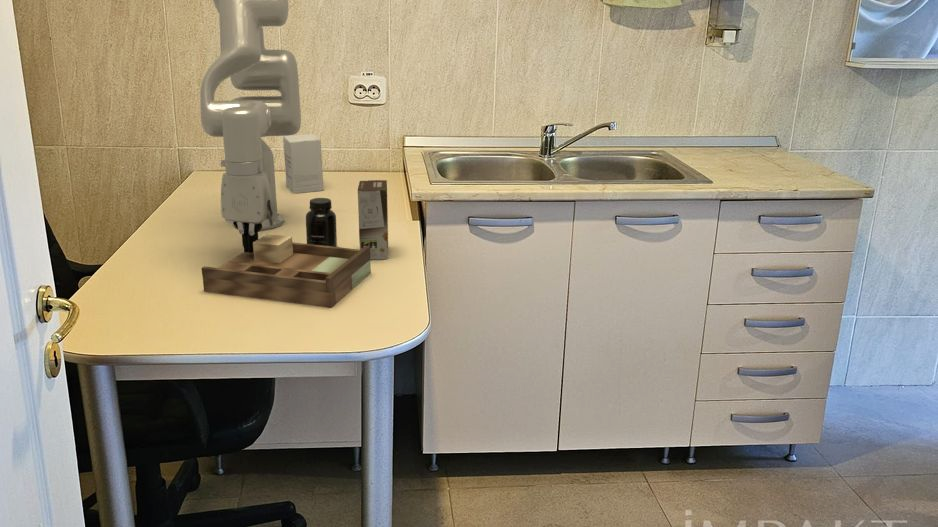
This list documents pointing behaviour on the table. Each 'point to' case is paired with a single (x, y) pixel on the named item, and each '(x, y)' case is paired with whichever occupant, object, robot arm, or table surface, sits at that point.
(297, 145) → the supplement box
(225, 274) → the box
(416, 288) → the table surface
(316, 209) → the supplement bottle
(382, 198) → the coffee box
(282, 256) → the maple block
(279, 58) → the robot arm
